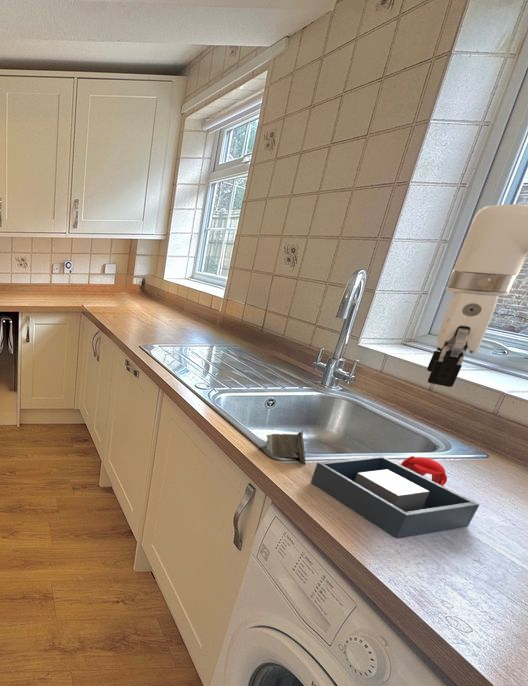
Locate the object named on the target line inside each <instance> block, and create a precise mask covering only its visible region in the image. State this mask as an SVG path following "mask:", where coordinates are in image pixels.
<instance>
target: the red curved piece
mask: <svg viewBox="0 0 528 686" xmlns="http://www.w3.org/2000/svg"><path fill="white" fill-rule="evenodd" d="M400 465H402V466H404V467H406V468H408V469H410V470H412V471H414V472H416V473H418V474H420V475H422V476H424V477H426V475H431V479H430V478H429V477H426V478H428V479H430V480H432V481H434V482H436V483H438V484H440V485H442V486H445V484H446V483H447V481H448V477H447V474H446V470H445V468H444V466H443V465H442V464H441V463H440V462H438V461H436V460H435V459H432V458H428V457H423V456H414V455H411V456H409V457H408V458H406V459H404V460H402V462H401V464H400Z"/></svg>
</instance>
